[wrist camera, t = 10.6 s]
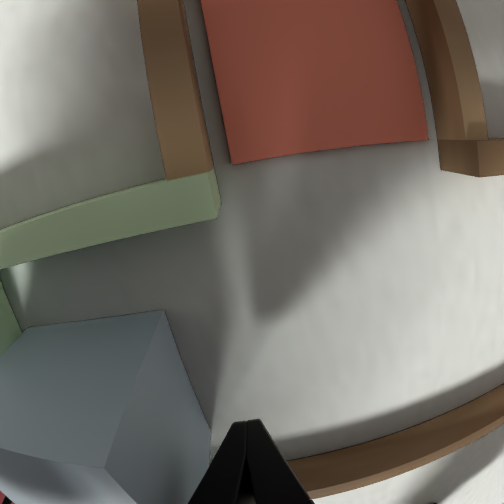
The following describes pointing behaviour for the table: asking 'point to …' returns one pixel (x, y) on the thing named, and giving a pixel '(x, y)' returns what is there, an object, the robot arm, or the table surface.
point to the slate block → (100, 415)
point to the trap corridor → (292, 151)
